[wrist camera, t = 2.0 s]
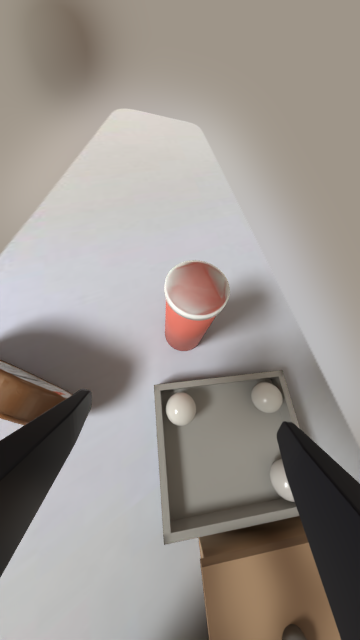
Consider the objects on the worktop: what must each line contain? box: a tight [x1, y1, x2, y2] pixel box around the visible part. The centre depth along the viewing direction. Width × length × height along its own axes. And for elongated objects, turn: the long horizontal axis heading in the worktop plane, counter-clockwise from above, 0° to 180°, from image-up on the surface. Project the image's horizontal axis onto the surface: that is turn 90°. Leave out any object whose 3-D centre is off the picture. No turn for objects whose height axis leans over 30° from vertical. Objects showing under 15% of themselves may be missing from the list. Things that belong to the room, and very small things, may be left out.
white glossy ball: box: [251, 382, 283, 413], centre depth 20 cm, size 3×3×3 cm
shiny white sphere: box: [270, 459, 295, 502], centre depth 18 cm, size 3×3×3 cm
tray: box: [154, 370, 300, 545], centre depth 19 cm, size 14×12×2 cm
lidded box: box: [198, 516, 341, 640], centre depth 14 cm, size 11×9×5 cm
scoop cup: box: [164, 260, 230, 351], centre depth 19 cm, size 5×5×11 cm
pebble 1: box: [166, 392, 196, 426], centre depth 19 cm, size 3×3×3 cm
